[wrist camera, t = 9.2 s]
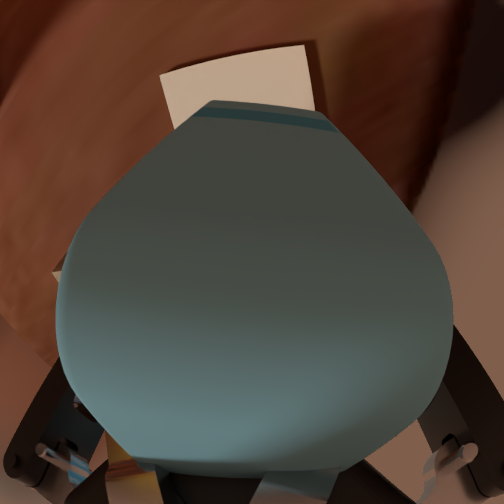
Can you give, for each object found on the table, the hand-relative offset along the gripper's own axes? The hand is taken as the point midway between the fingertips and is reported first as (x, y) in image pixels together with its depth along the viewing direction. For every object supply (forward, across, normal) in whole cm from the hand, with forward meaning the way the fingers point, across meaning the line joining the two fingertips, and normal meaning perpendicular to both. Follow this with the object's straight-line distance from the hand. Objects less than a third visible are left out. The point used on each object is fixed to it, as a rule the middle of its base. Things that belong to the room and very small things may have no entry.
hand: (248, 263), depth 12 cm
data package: (+4, 0, 0) cm, 4 cm away
